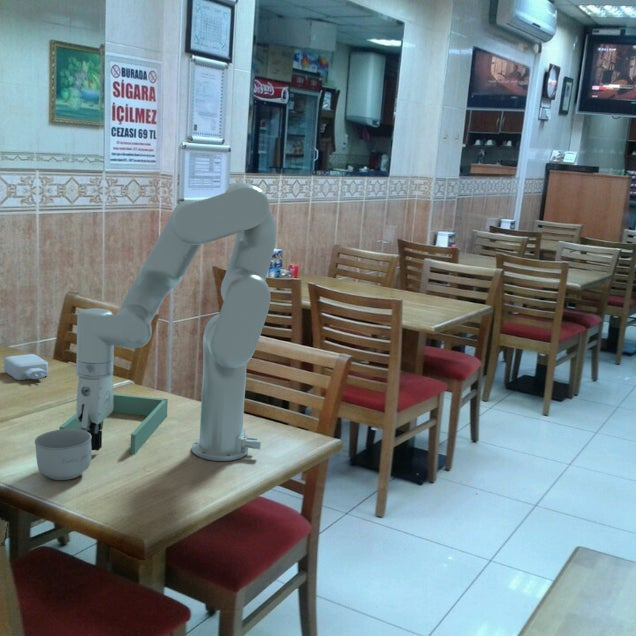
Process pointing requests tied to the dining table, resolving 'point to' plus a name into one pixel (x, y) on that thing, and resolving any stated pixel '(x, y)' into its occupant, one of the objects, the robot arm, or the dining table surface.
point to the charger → (26, 367)
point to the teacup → (63, 453)
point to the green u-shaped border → (138, 406)
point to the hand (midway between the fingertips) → (93, 448)
